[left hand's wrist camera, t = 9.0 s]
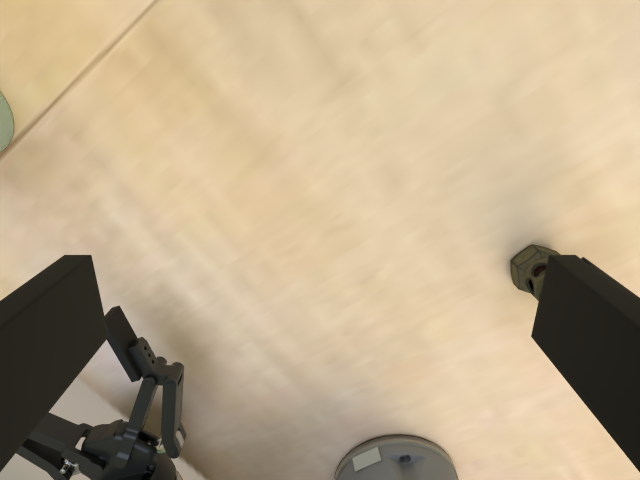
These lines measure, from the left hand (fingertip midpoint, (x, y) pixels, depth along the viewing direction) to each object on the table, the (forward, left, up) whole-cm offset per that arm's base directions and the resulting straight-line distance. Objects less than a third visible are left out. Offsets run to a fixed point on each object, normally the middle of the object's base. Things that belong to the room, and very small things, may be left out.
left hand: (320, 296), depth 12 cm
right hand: (+16, -25, -22) cm, 37 cm away
